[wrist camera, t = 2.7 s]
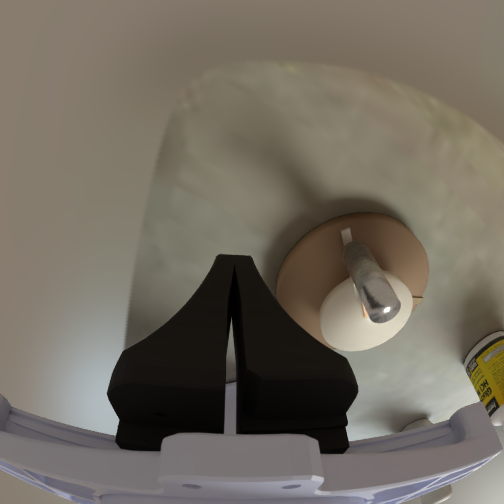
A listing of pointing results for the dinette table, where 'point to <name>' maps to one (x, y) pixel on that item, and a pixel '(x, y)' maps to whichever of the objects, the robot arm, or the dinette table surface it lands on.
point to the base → (334, 270)
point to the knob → (364, 303)
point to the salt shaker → (439, 494)
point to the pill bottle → (489, 374)
